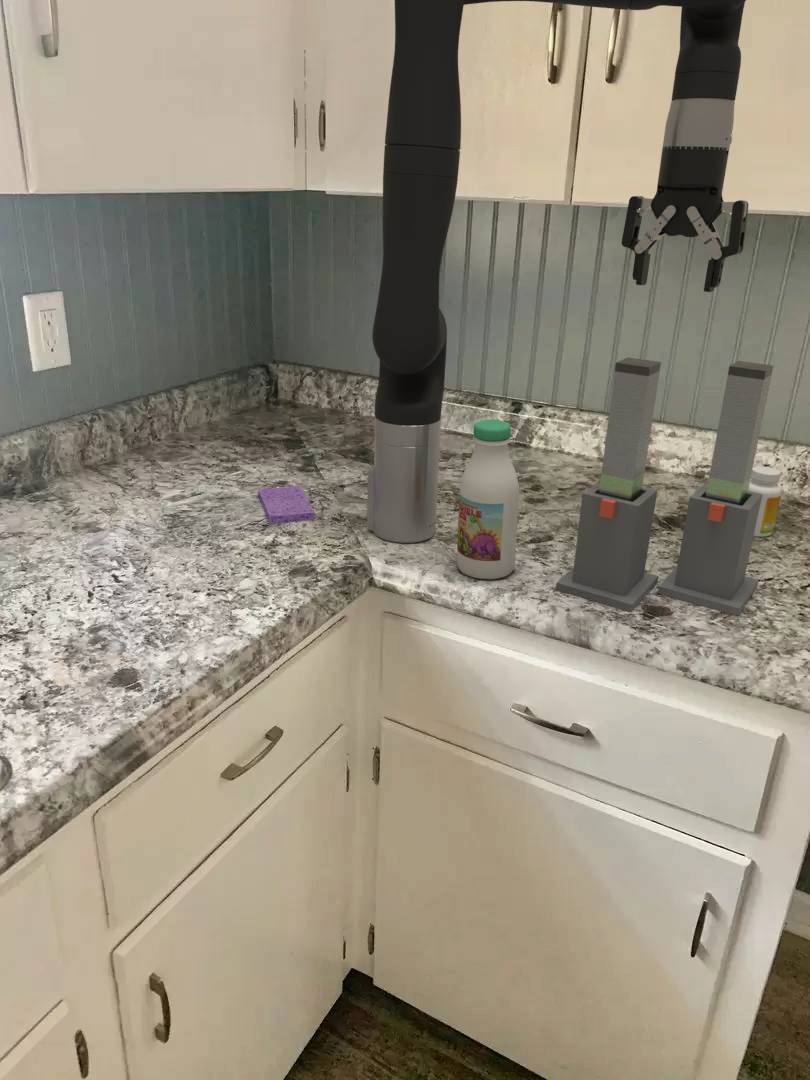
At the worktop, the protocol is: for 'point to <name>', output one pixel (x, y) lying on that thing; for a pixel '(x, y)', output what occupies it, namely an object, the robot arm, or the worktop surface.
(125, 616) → the worktop surface
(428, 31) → the robot arm
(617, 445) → the column
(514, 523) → the milk bottle
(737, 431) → the column
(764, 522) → the supplement bottle
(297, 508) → the sponges
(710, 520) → the stand
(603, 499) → the stand
